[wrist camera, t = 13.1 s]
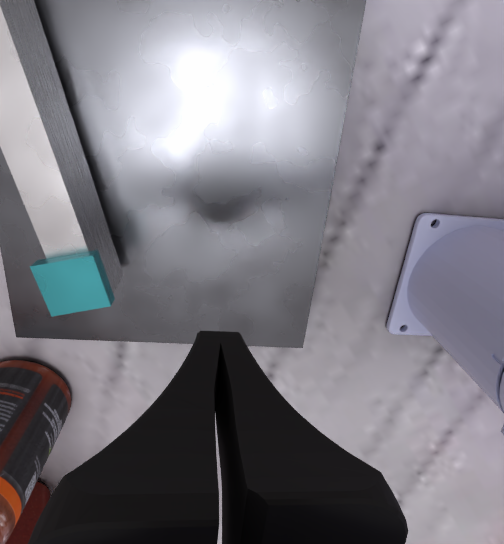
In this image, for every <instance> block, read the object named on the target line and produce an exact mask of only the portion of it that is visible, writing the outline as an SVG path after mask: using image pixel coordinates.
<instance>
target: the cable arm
mask: <svg viewBox="0 0 504 544" xmlns="http://www.w3.org/2000/svg"><path fill="white" fill-rule="evenodd" d="M0 147H1V149H2V152H3V154H4V157H5V159H6V162H7V164H8V166H9V169H10V171H11V174H12V176H13V179H14V181H15V183H16V186H17V188H18V191H19V193H20V195H21V198H22V200H23V203H24V205H25V208H26V210H27V212H28V215H29V217H30V220H31V222H32V225H33V227H34V229H35V232H36V234H37V237H38V239H39V241H40V244H41V246H42V249H43V251H44V254H45V256H46V258H47V259H41V260H37V261H36V262H34V263H33V264H32V265H31V266H30V269H31V271H32V273H33V275H34V278H35V280H36V282H37V285H38V287H39V289H40V291H41V294H42V296H43V298H44V301H45V303H46V305H47V307H48V310H49V312H50V314H51V317H53V316H58V315H64V314H70V313H75V312H81V311H87V310H93V309H98V308H104V307H110V306H111V305H112V303H113V301H114V300H115V297H114V294H113V293H114V292H115V290H116V288H117V286H118V284H119V283H120V281H121V279H122V277H123V275H124V274H123V271H122V268H121V265H120V262H119V259H118V256H117V253H116V250H115V247H114V244H113V241H112V237H111V234H110V231H109V228H108V225H107V222H106V219H105V216H104V213H103V210H102V207H101V204H100V201H99V198H98V195H97V192H96V189H95V186H94V182H93V179H92V176H91V173H90V170H89V167H88V164H87V161H86V158H85V155H84V152H83V149H82V146H81V143H80V140H79V137H78V134H77V131H76V128H75V124H74V121H73V118H72V115H71V112H70V109H69V106H68V103H67V100H66V97H65V94H64V91H63V88H62V85H61V82H60V79H59V76H58V73H57V69H56V66H55V63H54V60H53V57H52V54H51V51H50V48H49V45H48V42H47V39H46V36H45V33H44V30H43V27H42V24H41V21H40V18H39V14H38V11H37V8H36V5H35V2H34V0H0Z"/></svg>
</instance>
